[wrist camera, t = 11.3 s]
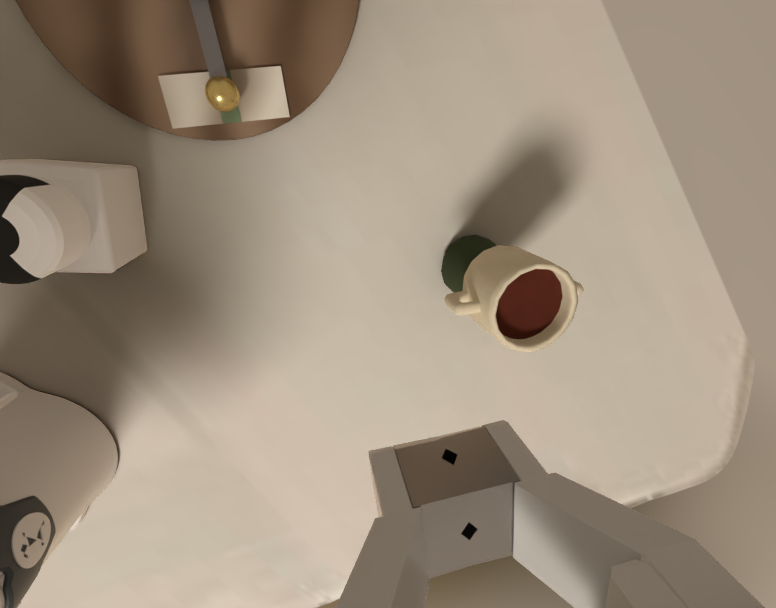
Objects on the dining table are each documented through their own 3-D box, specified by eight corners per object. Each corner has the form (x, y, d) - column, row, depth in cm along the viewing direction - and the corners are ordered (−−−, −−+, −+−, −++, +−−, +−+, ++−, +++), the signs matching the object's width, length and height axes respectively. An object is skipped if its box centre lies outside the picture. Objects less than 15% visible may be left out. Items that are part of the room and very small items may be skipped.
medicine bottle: (54, 249, 33) (-68, 296, 22) (35, 158, 31) (-112, 161, 20) (149, 251, 35) (78, 297, 24) (138, 165, 32) (54, 171, 21)
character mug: (419, 304, 42) (466, 365, 30) (414, 237, 39) (463, 274, 27) (516, 288, 43) (597, 339, 31) (517, 222, 41) (606, 251, 29)
